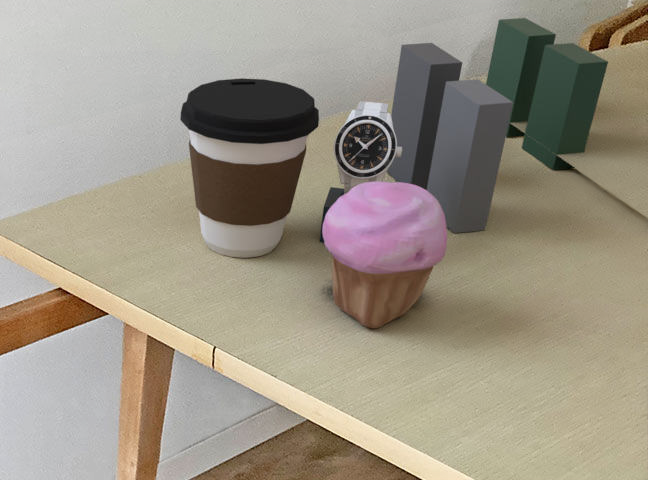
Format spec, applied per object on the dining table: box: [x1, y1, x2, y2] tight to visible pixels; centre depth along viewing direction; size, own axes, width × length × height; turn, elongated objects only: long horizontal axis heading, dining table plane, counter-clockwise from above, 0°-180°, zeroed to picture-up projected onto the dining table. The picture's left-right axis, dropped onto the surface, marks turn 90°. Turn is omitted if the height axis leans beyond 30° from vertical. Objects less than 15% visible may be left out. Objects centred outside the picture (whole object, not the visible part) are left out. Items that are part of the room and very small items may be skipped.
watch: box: [319, 100, 402, 243], centre depth 89 cm, size 6×8×11 cm
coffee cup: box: [179, 78, 320, 259], centre depth 87 cm, size 11×11×12 cm
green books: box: [485, 17, 609, 171], centre depth 107 cm, size 15×3×10 cm, turn 14°
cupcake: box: [322, 181, 448, 329], centre depth 79 cm, size 9×9×10 cm
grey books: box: [386, 42, 513, 234], centre depth 95 cm, size 15×3×12 cm, turn 14°
